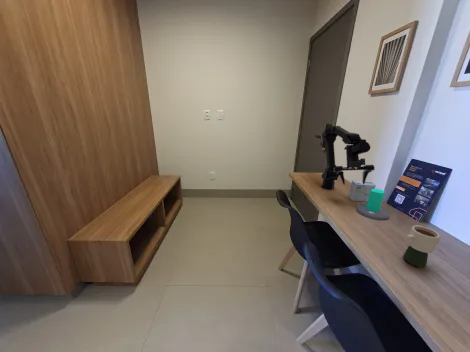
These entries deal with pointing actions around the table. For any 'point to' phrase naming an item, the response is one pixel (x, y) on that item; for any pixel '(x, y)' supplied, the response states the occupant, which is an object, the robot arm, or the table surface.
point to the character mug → (420, 245)
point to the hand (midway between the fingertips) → (353, 184)
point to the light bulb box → (360, 190)
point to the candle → (375, 200)
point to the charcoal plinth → (365, 212)
